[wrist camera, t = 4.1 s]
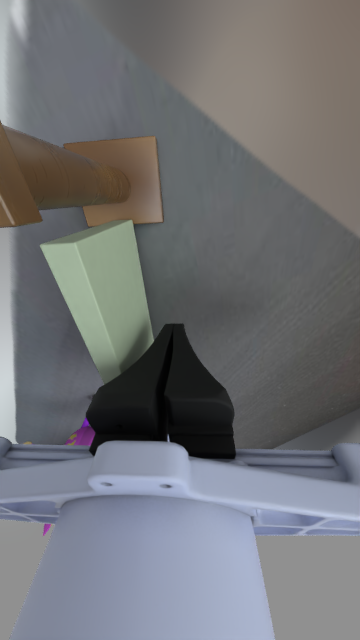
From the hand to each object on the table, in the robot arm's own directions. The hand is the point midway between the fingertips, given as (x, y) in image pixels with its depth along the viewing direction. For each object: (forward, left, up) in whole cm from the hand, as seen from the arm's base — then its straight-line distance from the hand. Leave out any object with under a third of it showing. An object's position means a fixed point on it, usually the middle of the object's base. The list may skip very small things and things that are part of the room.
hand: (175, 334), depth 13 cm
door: (+1, +2, -3) cm, 4 cm away
